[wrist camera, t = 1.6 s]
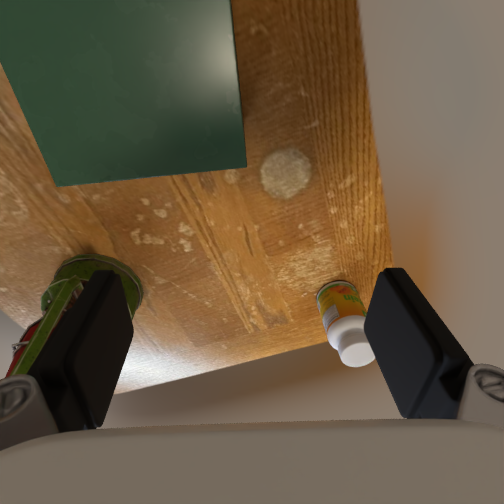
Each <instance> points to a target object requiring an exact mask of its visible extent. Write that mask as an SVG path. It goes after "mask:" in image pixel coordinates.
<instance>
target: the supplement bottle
mask: <svg viewBox="0 0 504 504" xmlns="http://www.w3.org/2000/svg"><path fill="white" fill-rule="evenodd" d="M317 304H318V308H319V311H320V314H321V318H322V321H323V324H324V328H325V331H326V334H327V338H328V340H329V343H330V344H331V345H332V347H333V348H335V349H336V350H338V353H339V355H340V358H341V360H342V362H343V363H344V364H346V365H348V366H351V367H360V366H364V365H366V364H369V363H370V362H372V361H373V360H374V359H375V356H374V353H373V351H372V349H371V347H370V344H369V342H368V340H367V338H366V335H365V333H364V322H365V318H366V315H367V311H366V309H365V307H364V305H363V303H362V301H361V299H360V297H359V294H358V292H357V290H356V289H355V287H354V286H353V285H351V284H350V283H347V282H344V281H337V282H332V283H329V284H327V285H325V286H324V287H323V288H322V289H321V290H320V291H319V293H318V295H317Z"/></svg>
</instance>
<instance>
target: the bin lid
mask: <svg viewBox="0 0 504 504" xmlns="http://www.w3.org/2000/svg"><path fill="white" fill-rule="evenodd" d="M0 62H1V65H2V67H3V69H4V71H5V73H6V76H7V78H8V80H9V82H10V84H11V87H12V89H13V91H14V93H15V96H16V98H17V100H18V102H19V104H20V107H21V109H22V111H23V113H24V116H25V118H26V120H27V122H28V124H29V127H30V129H31V131H32V133H33V135H34V138H35V140H36V142H37V144H38V147H39V149H40V151H41V153H42V155H43V158H44V160H45V162H46V164H47V167H48V169H49V171H50V173H51V175H52V178H53V180H54V182H55V184H56V186H57V187H62V186H72V185H81V184H91V183H101V182H110V181H120V180H130V179H139V178H149V177H159V176H168V175H178V174H188V173H197V172H207V171H217V170H226V169H236V168H246V167H247V159H246V149H245V140H244V130H243V120H242V110H241V101H240V91H239V81H238V71H237V61H236V52H235V42H234V32H233V22H232V12H231V3H230V0H0Z"/></svg>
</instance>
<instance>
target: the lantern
mask: <svg viewBox="0 0 504 504" xmlns="http://www.w3.org/2000/svg"><path fill="white" fill-rule="evenodd" d="M95 270H114V272H115V274H119V275H120V277H121V280H122V284H123V288H124V292H125V296H126V300H127V304H128V308H129V312H130V316H131V320H132V319H133V317H134V314H135V311H136V310H137V309H138V308H139V306H140V305H141V302H142V298H143V294H144V292H143V289H142V285H141V282H140V279H139V278H138V277H137V276H136V275H135V273H134V272H133V271H132V270H131V269H130V268H129V267H128V266H126V265H124V264H123V263H121V262H119V261H118V260H116V259H114V258H110V257H106V256H103V255H99V254H83V255H77V256H74V257H72V258H70V259H68V260H66V261H64V262H63V264H62V265H61V266H60V268H59V269H58V270H57V272H56V274H55V276H54V280H53V281H52V282H51V284H50V285H49V286H48V288H47V289H46V290H45V292H44V293H43V294H42V296H41V310H42V314H43V317H42V318H40V319H39V320H37V321H36V322H34V323H33V324H31V325H30V326H28V328H27V329H26V331H25V332H24V334H23V335H22V337H21V338H20V341H19V343H16V344H13V345H12V348H13V350H14V351H13V361H12V363H11V365H10V368H9V370H8V372H7V374H6V377H8V376H12V375H17V374H26V373H27V372H28V370H29V369H30V367H31V366H32V364H33V362H34V361H35V359H36V358H37V356H38V354H39V353H40V351H41V350H42V348H43V346H44V345H45V343H46V342H47V340H48V339H49V337H50V335H51V334H52V332H53V331H54V329H55V327H56V326H57V324H58V323H59V321H60V319H61V318H62V316H63V315H64V313H65V312H66V311H67V309H69V308H72V306H73V305H74V303H75V302H76V300H77V298H78V297H79V295H80V293H81V292H82V290H83V289H84V287H85V285H86V284H87V282H88V280H89V279H90V277H91V276H92V274H93V272H94V271H95ZM15 346H18V347H17V349H16V347H15ZM6 377H5V378H6Z"/></svg>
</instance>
